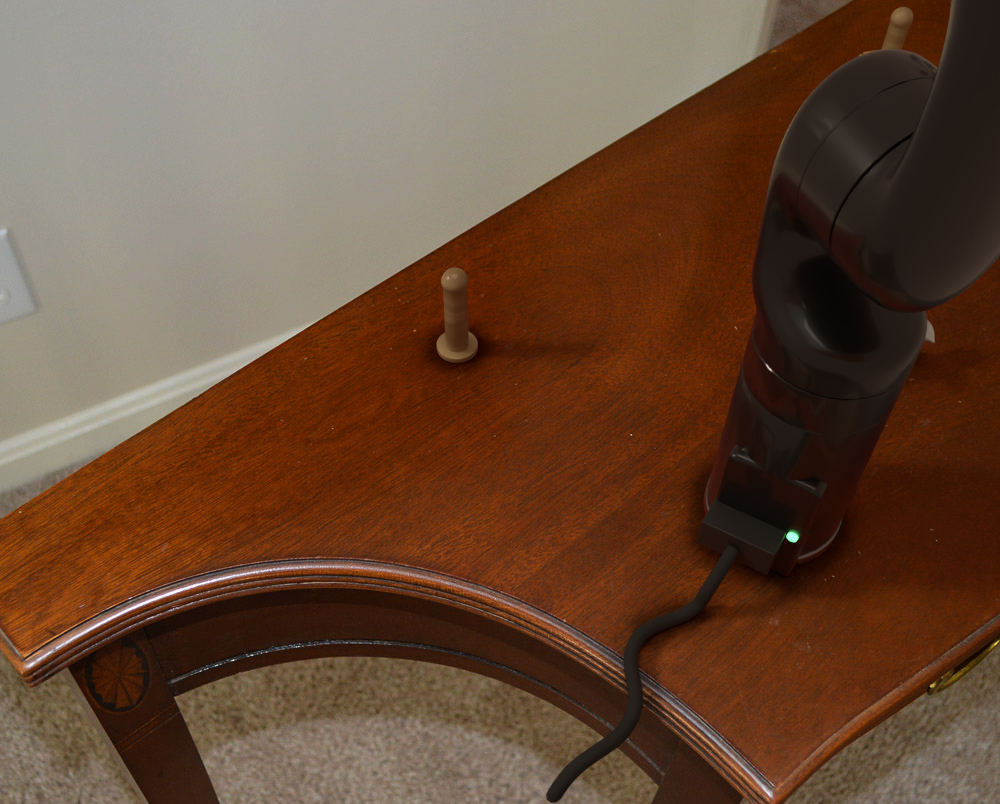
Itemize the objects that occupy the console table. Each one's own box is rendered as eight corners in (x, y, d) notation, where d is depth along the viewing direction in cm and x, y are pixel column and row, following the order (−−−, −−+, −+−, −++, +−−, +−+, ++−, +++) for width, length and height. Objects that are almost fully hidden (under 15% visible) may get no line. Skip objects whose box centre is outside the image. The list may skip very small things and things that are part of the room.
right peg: (890, 100, 104) (916, 22, 97) (857, 90, 105) (882, 11, 98) (900, 83, 106) (927, 5, 99) (869, 73, 107) (893, -5, 100)
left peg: (464, 369, 84) (461, 293, 77) (429, 353, 85) (423, 276, 78) (485, 342, 85) (484, 266, 79) (450, 327, 86) (447, 250, 80)
